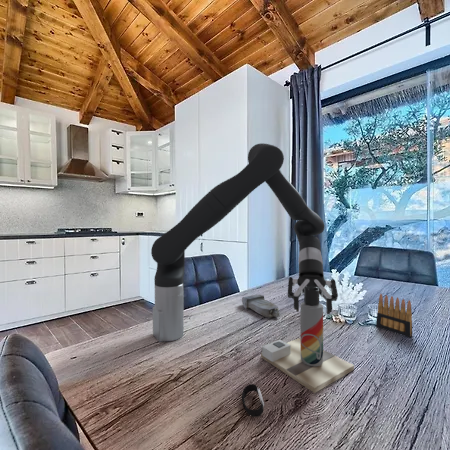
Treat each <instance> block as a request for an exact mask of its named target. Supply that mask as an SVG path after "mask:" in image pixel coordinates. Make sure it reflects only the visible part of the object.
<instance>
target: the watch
mask: <svg viewBox="0 0 450 450" xmlns="http://www.w3.org/2000/svg"><path fill="white" fill-rule="evenodd" d="M251 392H255V393H257V394H258V397H259V400H260V406H259V407H258V408H256V409H251V408H249V407H247V405H246V401H245V399H246V396H247V395H248V394H249V393H251ZM244 398H245V399H244ZM241 401H242V405H243V407H244V409H245V412H246V411H247V412H246V413H247V414H248V415H249V416H250V415H251V416H250V417H252V418H258V417H260V416H261V415H262V414H263V413H264V407H265V402H264V398H263V395H262V392H261V389H260V388H258V386H257V385H256V384H254V383H250V384H247V385H246V386H245V387H244V388H243V389H242V393H241Z"/></svg>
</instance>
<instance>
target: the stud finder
mask: <svg viewBox="0 0 450 450" xmlns="http://www.w3.org/2000/svg"><path fill="white" fill-rule="evenodd" d="M287 343H288V342H285V341H283V340H282V339H278V340H275V341H272V342H269V343H267V344H265V345H262V346H261V353H262V356H264V357H266V358H267V359H269V360H270V361H272V362H273V361H276V360H278V359H280V358H282V357H285V356H287V355H289V354H291V345H289V344H287Z"/></svg>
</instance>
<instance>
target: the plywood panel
mask: <svg viewBox="0 0 450 450" xmlns="http://www.w3.org/2000/svg"><path fill="white" fill-rule="evenodd" d="M286 343H287V344H289V345H291V354H289V355H287V356H285V357H282V358H280V359H278V360H276V361H273V362H272V361H270V360H269V359H267V358H266V357H264V356H262V352H260V358H261V359H263V360H265V361H266V362H267V363H269V364H271V365H272V366H273V367H275V368H277V369H278V370H279V371H280V372H282V373H284V374H285V375H286V376H288V377H290V378H291V379H293V380H294V381H295V382H297V383H298V384H300V385H302V386H303V387H305V388H306V389H308V390H309V391H311V392H312V393H313V394H316V393H318V392H319V391H321V390H323V389H324V388H326V387H327V386H329V385H330V384H331V385H332V384H333V383H334V382H336V381H339V379H341V378H343V377H344V376H346V375H347V374H349V373H351V372H353V371H354V370H355V365H354V364H353V363H351V362H348V361H347V360H344V359H343V358H340V357H339V356H337V355H335V354H333V353H331V352H329V351H327V350H324V349H323V363H322V365H320V366H309V365H306V364H304V363H303V362H302V361H301V337H300V338H299V337H298V338H296V339H293V340H290V341H288V342H286Z"/></svg>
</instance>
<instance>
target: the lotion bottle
mask: <svg viewBox="0 0 450 450" xmlns="http://www.w3.org/2000/svg"><path fill="white" fill-rule="evenodd" d="M303 300H304V301H302V302H301V303H300V308H299V312H300V319H299V320H300V322H299V323H300V339H301V361H302V362H303V363H304V364H306V365H309V366H320V365H322V363H323V350H324V306H323V304H322V303H320V294H319V287H317V286H310V287H305V288H304V294H303Z"/></svg>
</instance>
